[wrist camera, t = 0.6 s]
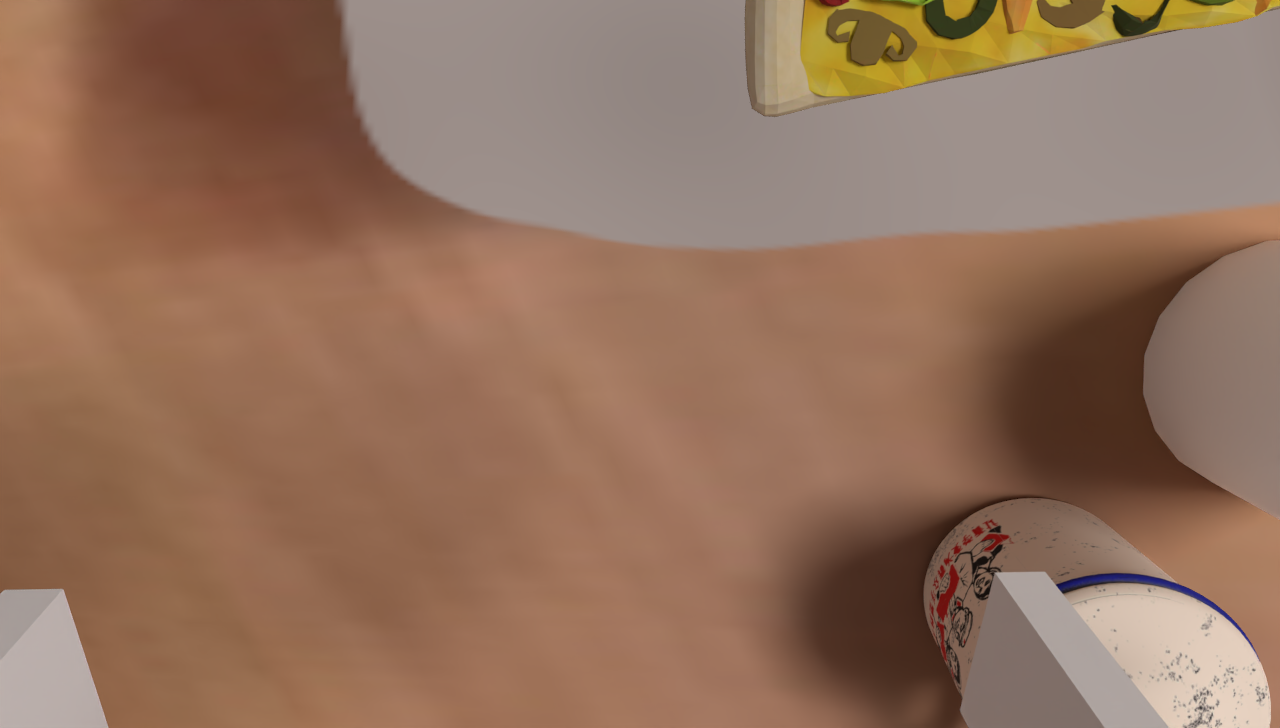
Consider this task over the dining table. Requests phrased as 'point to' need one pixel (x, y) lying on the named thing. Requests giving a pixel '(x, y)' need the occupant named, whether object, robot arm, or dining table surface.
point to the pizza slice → (939, 40)
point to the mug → (1223, 375)
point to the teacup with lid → (1100, 610)
